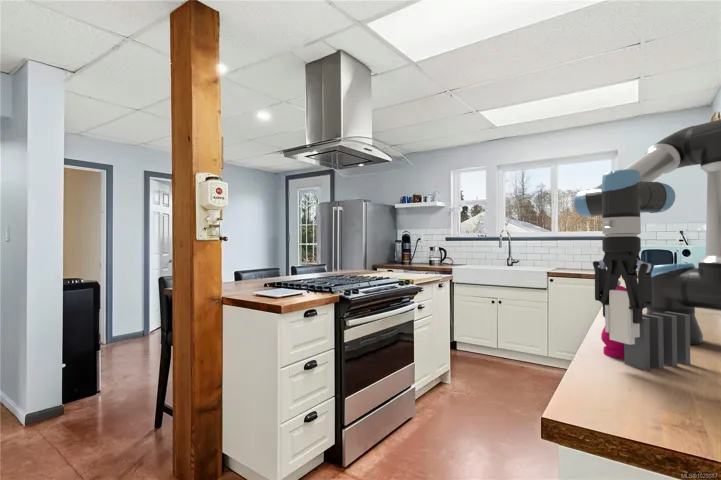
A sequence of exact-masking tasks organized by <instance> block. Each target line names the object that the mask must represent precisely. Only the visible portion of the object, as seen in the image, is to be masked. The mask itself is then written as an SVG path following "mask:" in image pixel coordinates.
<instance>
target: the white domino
mask: <svg viewBox="0 0 721 480" xmlns="http://www.w3.org/2000/svg"><path fill="white" fill-rule="evenodd" d="M629 307H631V305H630V301H629V297H628V293H627V291H622V290H610V291H609V310H610V340H614V341H617V342H621V343H625V344H629V345H631V344H635V338H629V337H628V319H627V309H629Z"/></svg>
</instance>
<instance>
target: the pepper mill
mask: <svg viewBox="0 0 721 480" xmlns="http://www.w3.org/2000/svg"><path fill="white" fill-rule="evenodd" d="M616 290H622V291H627V289H626V286H622V285H621V280H618V284H617V288H616ZM600 336H601V337H600V339H601V341H602V342H603V343H604V345H605V346H603V354H604V355H605V356H607V357H609V358H610V357H611V358H615V359H624V343H621V342H617V341H614V340H610V332H605V326H604V327H603V328H602V331H601V335H600Z"/></svg>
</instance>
